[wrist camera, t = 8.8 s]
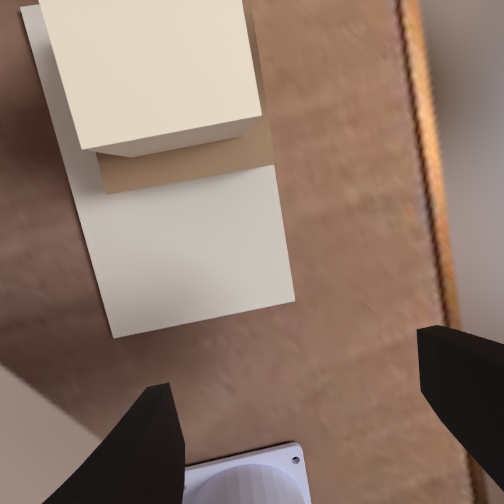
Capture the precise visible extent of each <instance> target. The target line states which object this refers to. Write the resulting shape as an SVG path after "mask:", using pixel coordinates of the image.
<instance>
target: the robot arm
mask: <svg viewBox="0 0 504 504" xmlns="http://www.w3.org/2000/svg"><path fill="white" fill-rule="evenodd" d="M417 343H418V358H419V372H420V387H421V392H422V393H423V395H424V397H425V398H426V400H427V401H428V403H429V404H430V406H431V407H432V409H433V410H434V411H435V413H436V414H437V416H438V417H439V419H440V420H441V421H442V423H443V424H444V425H445V426H446V427H447V428H448V430H449V431H450V432H451V433H452V434H453V435H454V436H455V438H456V439H457V440H458V441H459V442H460V443H461V444H462V446H463V447H464V448H465V449H466V450H467V451H468V452H469V453H470V454H471V456H472V457H473V458H474V459H475V460H476V461H477V462H478V463H479V465H480V466H481V467H482V468H483V469H484V470H485V471H486V472H487V474H488V475H489V476H490V477H491V478H492V479H493V480H494V481H495V482H496V484H497V485H498V486H499V487H500V488H501V489H502V490H503V491H504V344H501V343H498V342H495V341H491V340H488V339H485V338H482V337H478V336H475V335H472V334H468V333H466V332H462V331H459V330H455V329H452V328H448V327H444V326H439V325H435V326H430V327H426V328H421V329H417ZM294 457H298V458H297V459H293V458H294ZM42 504H311V499H310V493H309V487H308V481H307V475H306V469H305V463H304V457H303V451H302V448H301V446H300V444H298V443H296V442H292V443H288V444H284V445H279V446H275V447H271V448H267V449H262V450H258V451H254V452H249V453H245V454H241V455H236V456H232V457H228V458H224V459H219V460H215V461H211V462H206V463H202V464H198V465H194V466H189V467H185V442H184V438H183V434H182V430H181V427H180V423H179V419H178V415H177V411H176V407H175V403H174V399H173V396H172V392H171V388H170V384H169V383H165V384H160V385H155V386H151V387H147V388H146V389H145V390H144V392H143V393H142V394H141V395H140V396H139V398H138V399H137V400H136V401H135V403H134V404H133V405H132V406H131V408H130V409H129V410H128V411H127V413H126V414H125V415H124V416H123V418H122V419H121V420H120V421H119V422H118V424H117V425H116V426H115V427H114V429H113V430H112V431H111V432H110V433H109V435H108V436H107V437H106V438H105V439H104V440H103V441H102V443H101V444H100V445H99V446H98V447H97V448H96V449H95V450H94V451H93V453H92V454H91V455H90V456H89V457H88V458H87V459H86V460H85V462H84V463H83V464H82V465H81V466H80V467H79V468H78V469H77V470H76V471H75V472H74V473H73V474H72V475H71V476H70V477H69V478H68V479H67V480H66V481H65V482H64V483H63V484H62V485H61V486H60V487H59V488H58V489H57V490H56V491H55V492H54V493H53V494H52V495H51V496H50V497H48V498H47V499H46V500H45V501H44V502H43V503H42Z"/></svg>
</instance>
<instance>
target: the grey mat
mask: <svg viewBox="0 0 504 504" xmlns="http://www.w3.org/2000/svg"><path fill="white" fill-rule="evenodd" d="M20 9H21V13H22V16H23V20H24V23H25V27H26V31H27V34H28V38H29V41H30V45H31V48H32V52H33V55H34V59H35V62H36V66H37V69H38V73H39V77H40V80H41V84H42V87H43V91H44V94H45V98H46V101H47V105H48V108H49V112H50V116H51V119H52V123H53V126H54V130H55V133H56V137H57V140H58V144H59V147H60V151H61V155H62V158H63V162H64V165H65V169H66V172H67V176H68V179H69V183H70V186H71V190H72V194H73V197H74V201H75V204H76V208H77V211H78V215H79V218H80V222H81V225H82V229H83V233H84V236H85V240H86V243H87V247H88V250H89V254H90V257H91V261H92V264H93V268H94V272H95V275H96V279H97V282H98V286H99V289H100V293H101V296H102V300H103V303H104V307H105V310H106V314H107V318H108V321H109V325H110V328H111V332H112V335H113V339H114V338H119V337H123V336H128V335H133V334H138V333H143V332H148V331H152V330H157V329H162V328H167V327H172V326H177V325H182V324H186V323H191V322H196V321H201V320H206V319H211V318H215V317H220V316H225V315H230V314H235V313H240V312H244V311H249V310H254V309H259V308H264V307H269V306H273V305H278V304H283V303H288V302H293V301H295V297H294V290H293V284H292V278H291V271H290V265H289V259H288V252H287V246H286V239H285V233H284V227H283V220H282V214H281V207H280V201H279V195H278V188H277V182H276V176H275V169H274V165H270V166H264V167H259V168H253V169H248V170H242V171H237V172H231V173H226V174H220V175H215V176H209V177H203V178H198V179H192V180H187V181H181V182H176V183H170V184H165V185H159V186H153V187H148V188H142V189H137V190H131V191H126V192H120V193H115V194H109V195H107V194H106V191H105V187H104V183H103V179H102V175H101V172H100V168H99V164H98V160H97V156H96V152H93V151H87V150H82V149H81V145H80V142H79V138H78V135H77V132H76V128H75V125H74V121H73V118H72V114H71V111H70V107H69V104H68V100H67V97H66V93H65V90H64V86H63V83H62V79H61V76H60V73H59V69H58V66H57V62H56V59H55V55H54V52H53V48H52V45H51V41H50V38H49V34H48V31H47V27H46V24H45V20H44V17H43V13H42V10H41V7H40V4H39V5H32V6H25V7H20Z"/></svg>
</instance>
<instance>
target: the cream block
mask: <svg viewBox="0 0 504 504" xmlns="http://www.w3.org/2000/svg"><path fill="white" fill-rule="evenodd" d="M39 3H40V7H41V10H42V13H43V17H44V20H45V24H46V27H47V31H48V34H49V38H50V41H51V45H52V48H53V52H54V55H55V59H56V62H57V66H58V69H59V73H60V76H61V79H62V83H63V86H64V90H65V93H66V97H67V100H68V104H69V107H70V111H71V114H72V118H73V121H74V125H75V128H76V132H77V135H78V138H79V142H80V145H81V149H82V150H87V151H93V152H99V153H106V154H112V155H118V156H124V157H131V158H132V157H137V156H142V155H148V154H153V153H158V152H163V151H168V150H173V149H179V148H184V147H189V146H194V145H199V144H204V143H210V142H215V141H220V140H225V139H230V138H235V137H241V136H243V135H244V134H245V133H246V132H247V130H248V129H249V128H250V127H251V126H252V125H253V124H254V123H255V122H256V121H257V120H258V119H259V118H260V117H261V116H262V112H261V107H260V101H259V95H258V90H257V84H256V78H255V73H254V67H253V61H252V56H251V50H250V44H249V39H248V33H247V27H246V22H245V16H244V10H243V5H242V0H39Z"/></svg>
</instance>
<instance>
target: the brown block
mask: <svg viewBox="0 0 504 504" xmlns="http://www.w3.org/2000/svg"><path fill="white" fill-rule="evenodd" d="M242 5H243V10H244V16H245V22H246V27H247V33H248V39H249V44H250V50H251V56H252V61H253V67H254V73H255V78H256V84H257V90H258V95H259V101H260V107H261V112H262V116H261V117H260V118H259V119H258V120H257V121H256V122H255V123H254V124H253V125H252V126H251V127H250V128H249V129H248V130H247V132H246V133H245V134H244V135H243V136H241V137H235V138H230V139H225V140H220V141H215V142H210V143H204V144H199V145H194V146H189V147H184V148H179V149H173V150H168V151H163V152H158V153H153V154H148V155H142V156H137V157H132V158H131V157H124V156H118V155H112V154H106V153H99V152H96V156H97V160H98V164H99V168H100V172H101V175H102V179H103V183H104V187H105V191H106V194H107V195H109V194H115V193H120V192H126V191H131V190H137V189H142V188H148V187H153V186H159V185H165V184H170V183H176V182H181V181H187V180H192V179H198V178H203V177H209V176H215V175H220V174H226V173H231V172H237V171H242V170H248V169H253V168H259V167H264V166H270V165H276V162H275V156H274V149H273V143H272V136H271V130H270V124H269V117H268V111H267V104H266V98H265V91H264V85H263V79H262V72H261V66H260V59H259V53H258V46H257V40H256V33H255V27H254V21H253V14H252V8H251V1H250V0H242Z"/></svg>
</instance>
